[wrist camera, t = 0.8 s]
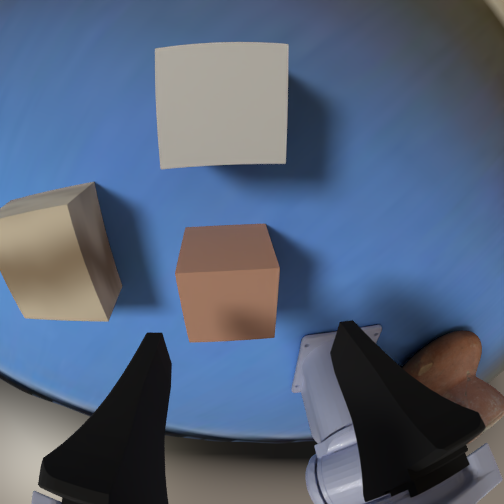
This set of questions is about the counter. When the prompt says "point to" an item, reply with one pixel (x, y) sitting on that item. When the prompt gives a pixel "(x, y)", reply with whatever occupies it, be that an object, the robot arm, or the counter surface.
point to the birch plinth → (59, 255)
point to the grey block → (221, 104)
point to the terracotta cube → (228, 282)
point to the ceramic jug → (457, 374)
